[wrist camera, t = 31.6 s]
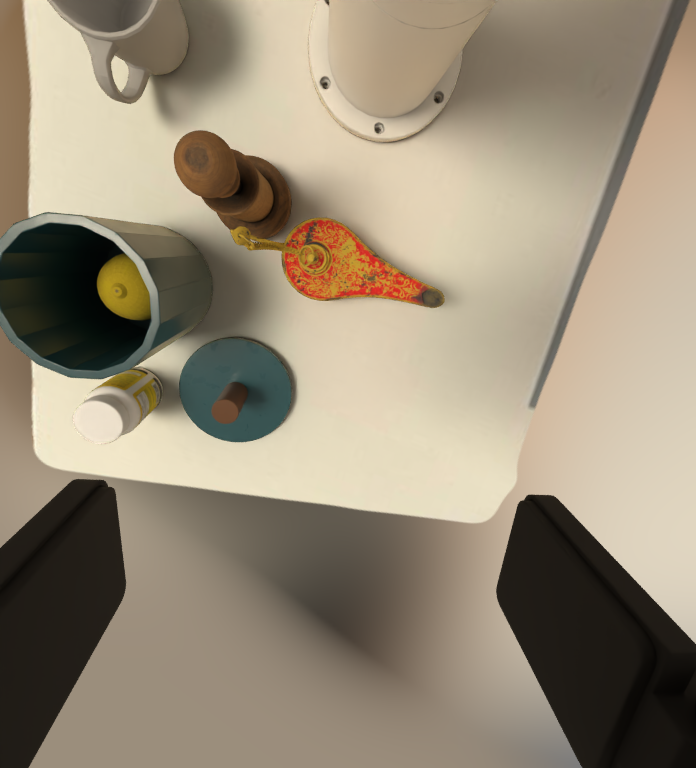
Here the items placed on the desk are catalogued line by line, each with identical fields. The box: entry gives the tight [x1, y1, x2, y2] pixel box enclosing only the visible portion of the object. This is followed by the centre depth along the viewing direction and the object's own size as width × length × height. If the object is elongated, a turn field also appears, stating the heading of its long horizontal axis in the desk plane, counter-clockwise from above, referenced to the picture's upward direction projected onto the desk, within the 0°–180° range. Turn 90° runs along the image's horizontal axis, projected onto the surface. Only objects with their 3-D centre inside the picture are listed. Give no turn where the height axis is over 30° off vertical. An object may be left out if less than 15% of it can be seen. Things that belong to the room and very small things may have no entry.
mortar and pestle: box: [174, 131, 291, 239], centre depth 28 cm, size 7×6×18 cm
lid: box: [179, 338, 292, 442], centre depth 39 cm, size 11×11×6 cm
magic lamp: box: [230, 218, 445, 308], centre depth 33 cm, size 7×18×11 cm, turn 72°
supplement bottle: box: [73, 367, 163, 444], centre depth 37 cm, size 5×5×8 cm
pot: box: [0, 212, 213, 379], centre depth 31 cm, size 10×10×14 cm
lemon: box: [97, 253, 151, 320], centre depth 33 cm, size 6×6×8 cm
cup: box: [47, 0, 189, 104], centre depth 28 cm, size 8×10×8 cm
